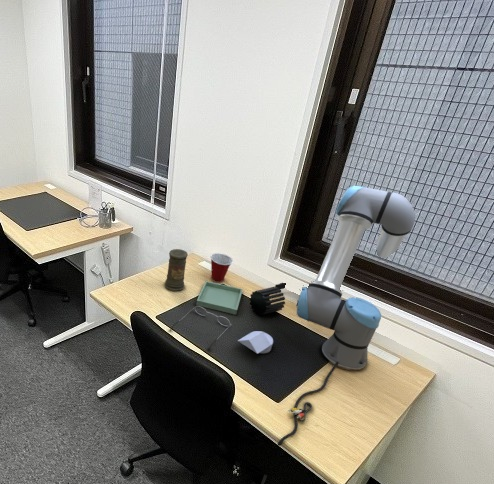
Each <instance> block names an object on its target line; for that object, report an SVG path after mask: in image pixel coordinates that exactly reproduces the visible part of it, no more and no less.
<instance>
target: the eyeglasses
mask: <svg viewBox="0 0 494 484" xmlns="http://www.w3.org/2000/svg"><path fill="white" fill-rule="evenodd" d="M198 307H199V308H201V309H202V310H204V311H205V312H206V314H201V313H199V312H198V311H197V310H196V309H197V308H198ZM193 309H194V311H195V313H196V314H197V315H199V316H201V317H206V316H207V315H208V314H209V315H212V316H214V317H216V320H217V322H218V323H219V324H220V325H221V326H224V327H227V328H226V329H225V330H223V332H222V333H220V335H219V336H218V338H217V339H215V340H214V341H213V342H212V343H211V344H210V345H209V348H208V351H209V350H210V349H211V347H212V346H213V345H214V344H215V343H216V342H217V340H219V338H220V337H221V336H222V335H223V334H224V333H225V331H226V330H228V329H229V328H230V327H232V326H233V324H232V323H231V321H230V319H229V318H228V317H226V316H222V315H219V316H218V315H217V314H215V313H212V312H209V311H207V308H205V307H202V306H198V305H195V307H193V308H192V309H191V311H192V310H193ZM188 314H189V312H187V314H185V315H184V317H186V316H187V315H188ZM219 317H220V318H223V319H226V320H227V321H228V323H229V324H228V325H226V324H223V323H221V322H220V321H219ZM181 320H182V318H180V319H179V320H178V321H176V322H175V323H174V324H173V325H172V326H171V328H170V329H169V332H171V331H172V329H173V328H174V327H175V325H177V324H178V323H179V322H180V321H181Z"/></svg>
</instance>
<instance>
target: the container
mask: <svg viewBox="0 0 494 484" xmlns="http://www.w3.org/2000/svg"><path fill="white" fill-rule="evenodd" d="M168 255H169V259H168V266H167V267H168V268H167V274H166V279H165V283H164V287H165V288H166V289H167V290H169V291H171V292H180V291H182V290H184V288H185V272H186V264H187V259H188V252H187V251H186V250H183V249H181V248H173V249H171V250H169V253H168Z"/></svg>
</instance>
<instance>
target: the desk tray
mask: <svg viewBox="0 0 494 484" xmlns="http://www.w3.org/2000/svg"><path fill="white" fill-rule="evenodd" d="M243 290H244V289H243V288H239V287H235V286H230V285H226V284H222V283H218V282H214V281H213V282H212V281H208V280H205V282H204V283H203V286H202V287H201V290H200V292H199V294H198V297H197V298H196V303H195V306H200V307H203V308H205V309H211V310H214V311H218V312H223V313H227V314H231V315H237V314H238V309H239V305H240V303H241V302H240V301H241V299H242V294H243Z"/></svg>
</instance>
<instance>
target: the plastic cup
mask: <svg viewBox="0 0 494 484" xmlns="http://www.w3.org/2000/svg"><path fill="white" fill-rule="evenodd" d="M210 260H211V261H210V263H211V266H210V267H211V268H210V269H211V270H210V271H211V273H210V274H211V280H212V281H213V282H215V283H221V282H224V281H225V277H226V275H227V273H228V270H229V268H230V266H231V265H232V264H233V262H234V260H233V258H232V256H229V255H227V254H225V253H221V252H215V253H211V255H210Z"/></svg>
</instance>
